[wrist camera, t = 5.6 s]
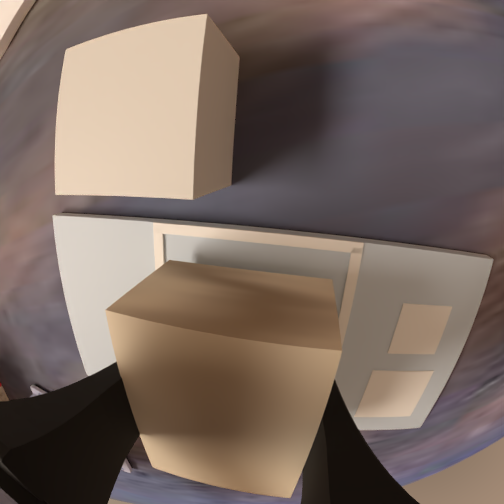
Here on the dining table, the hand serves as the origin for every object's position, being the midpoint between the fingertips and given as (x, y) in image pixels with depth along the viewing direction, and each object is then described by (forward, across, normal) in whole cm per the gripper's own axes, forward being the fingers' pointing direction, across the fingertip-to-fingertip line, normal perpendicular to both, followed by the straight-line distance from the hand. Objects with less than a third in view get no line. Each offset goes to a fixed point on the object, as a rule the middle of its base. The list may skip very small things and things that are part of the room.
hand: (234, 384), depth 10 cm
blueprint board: (+3, 0, 0) cm, 3 cm away
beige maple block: (+3, +4, -9) cm, 10 cm away
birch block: (+2, 0, 0) cm, 2 cm away
